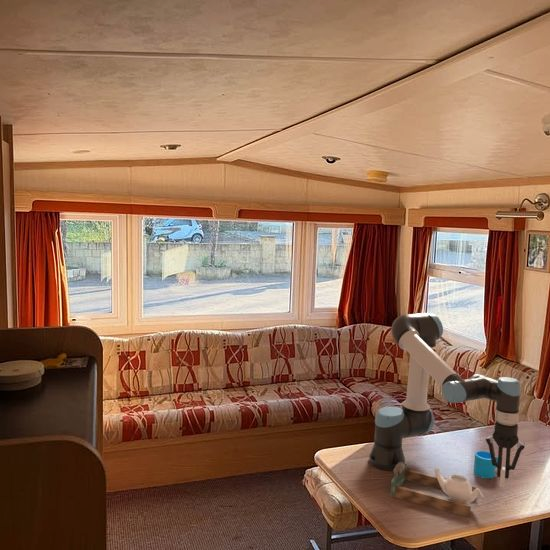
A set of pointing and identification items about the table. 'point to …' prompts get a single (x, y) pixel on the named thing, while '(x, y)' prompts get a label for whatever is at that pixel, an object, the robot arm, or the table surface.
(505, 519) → the table surface
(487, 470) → the mug
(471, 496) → the teapot
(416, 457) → the table surface
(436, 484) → the bay
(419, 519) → the table surface
